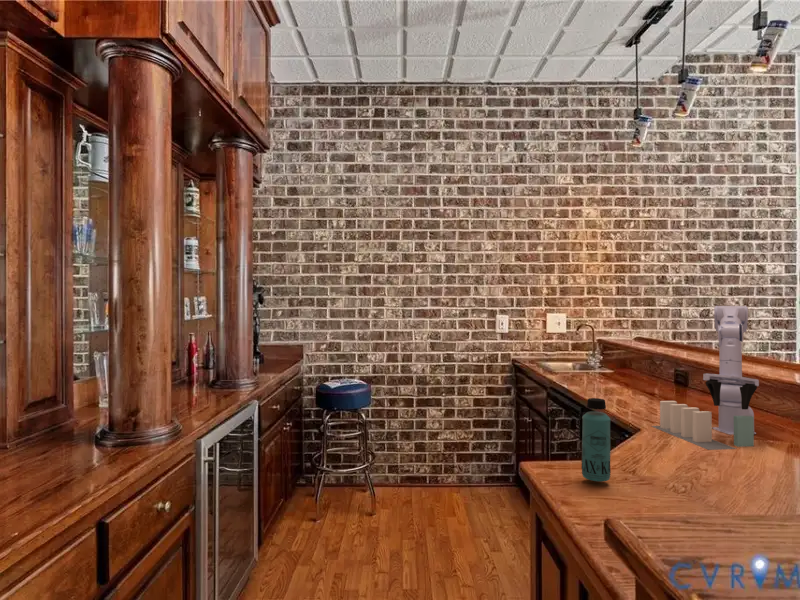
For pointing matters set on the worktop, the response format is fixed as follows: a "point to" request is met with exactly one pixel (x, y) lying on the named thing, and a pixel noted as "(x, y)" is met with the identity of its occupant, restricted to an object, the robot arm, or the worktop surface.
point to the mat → (707, 445)
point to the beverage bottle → (596, 442)
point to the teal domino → (743, 431)
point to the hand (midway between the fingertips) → (730, 407)
